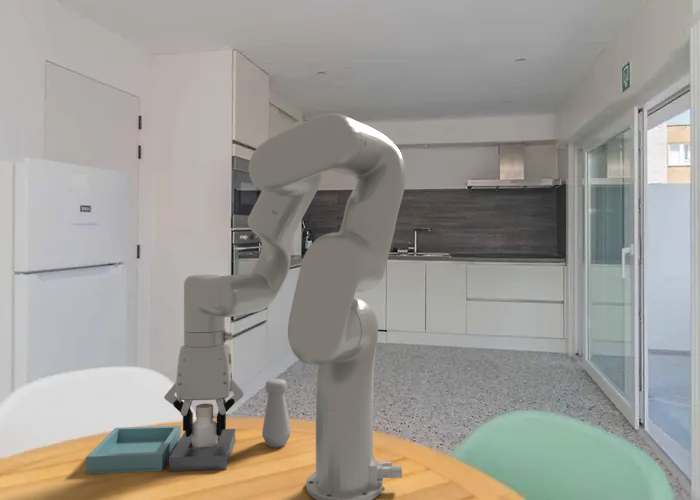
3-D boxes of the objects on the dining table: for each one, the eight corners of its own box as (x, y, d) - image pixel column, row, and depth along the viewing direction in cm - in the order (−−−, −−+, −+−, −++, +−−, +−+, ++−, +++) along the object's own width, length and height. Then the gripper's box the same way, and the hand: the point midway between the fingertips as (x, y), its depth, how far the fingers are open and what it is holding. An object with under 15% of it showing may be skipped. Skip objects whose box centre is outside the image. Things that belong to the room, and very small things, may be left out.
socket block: (235, 440, 109) (235, 428, 109) (226, 469, 95) (226, 455, 95) (185, 442, 108) (185, 430, 108) (169, 471, 94) (169, 457, 94)
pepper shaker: (199, 461, 99) (199, 410, 99) (190, 454, 102) (190, 405, 102) (218, 455, 101) (218, 406, 101) (209, 449, 105) (209, 401, 105)
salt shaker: (293, 439, 110) (293, 376, 110) (287, 449, 104) (287, 384, 104) (266, 438, 111) (265, 376, 111) (258, 448, 105) (258, 383, 105)
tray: (180, 440, 110) (180, 425, 110) (162, 470, 95) (162, 454, 95) (115, 442, 108) (115, 427, 108) (86, 473, 93) (86, 456, 93)
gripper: (251, 335, 106) (251, 425, 106) (163, 336, 105) (163, 428, 105) (247, 342, 99) (247, 439, 99) (153, 343, 97) (153, 442, 97)
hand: (204, 432), depth 102 cm, fingers closed on pepper shaker, 5 cm apart
